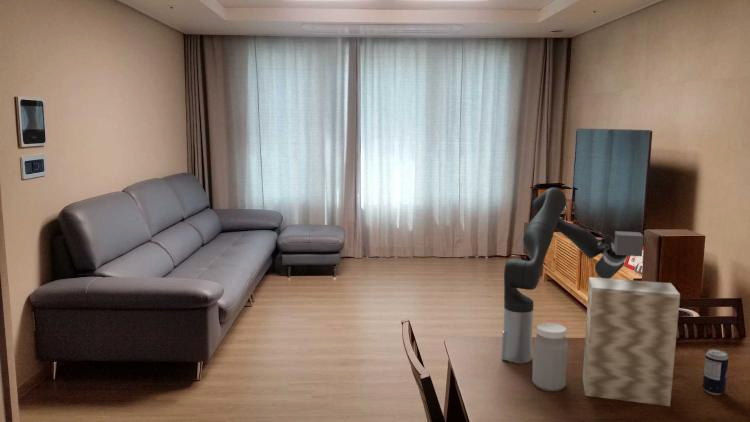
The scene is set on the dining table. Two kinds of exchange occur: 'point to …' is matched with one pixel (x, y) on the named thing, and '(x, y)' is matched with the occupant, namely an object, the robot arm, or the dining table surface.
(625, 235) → the salmon and grey blocks
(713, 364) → the beverage can
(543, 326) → the jar
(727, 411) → the dining table surface
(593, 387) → the beige zigzag box
